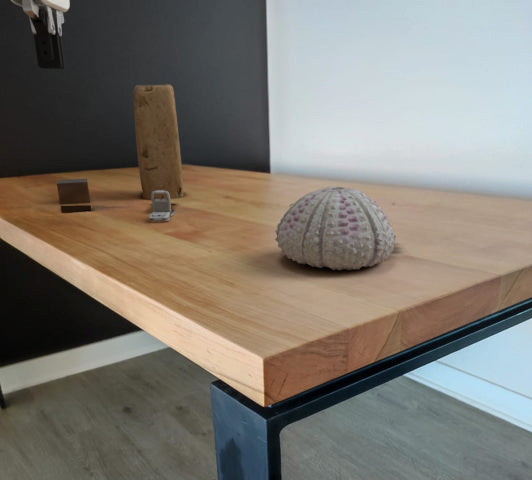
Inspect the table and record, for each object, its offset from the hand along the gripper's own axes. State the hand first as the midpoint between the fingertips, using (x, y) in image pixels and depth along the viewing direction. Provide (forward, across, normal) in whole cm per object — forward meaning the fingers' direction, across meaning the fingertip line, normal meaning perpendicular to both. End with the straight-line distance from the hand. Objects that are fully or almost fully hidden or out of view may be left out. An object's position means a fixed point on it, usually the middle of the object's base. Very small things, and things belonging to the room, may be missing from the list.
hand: (52, 68), depth 76 cm
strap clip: (+21, -4, +13) cm, 26 cm away
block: (+22, -19, +10) cm, 31 cm away
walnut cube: (+22, -12, -4) cm, 25 cm away
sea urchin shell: (+20, +24, +39) cm, 50 cm away
